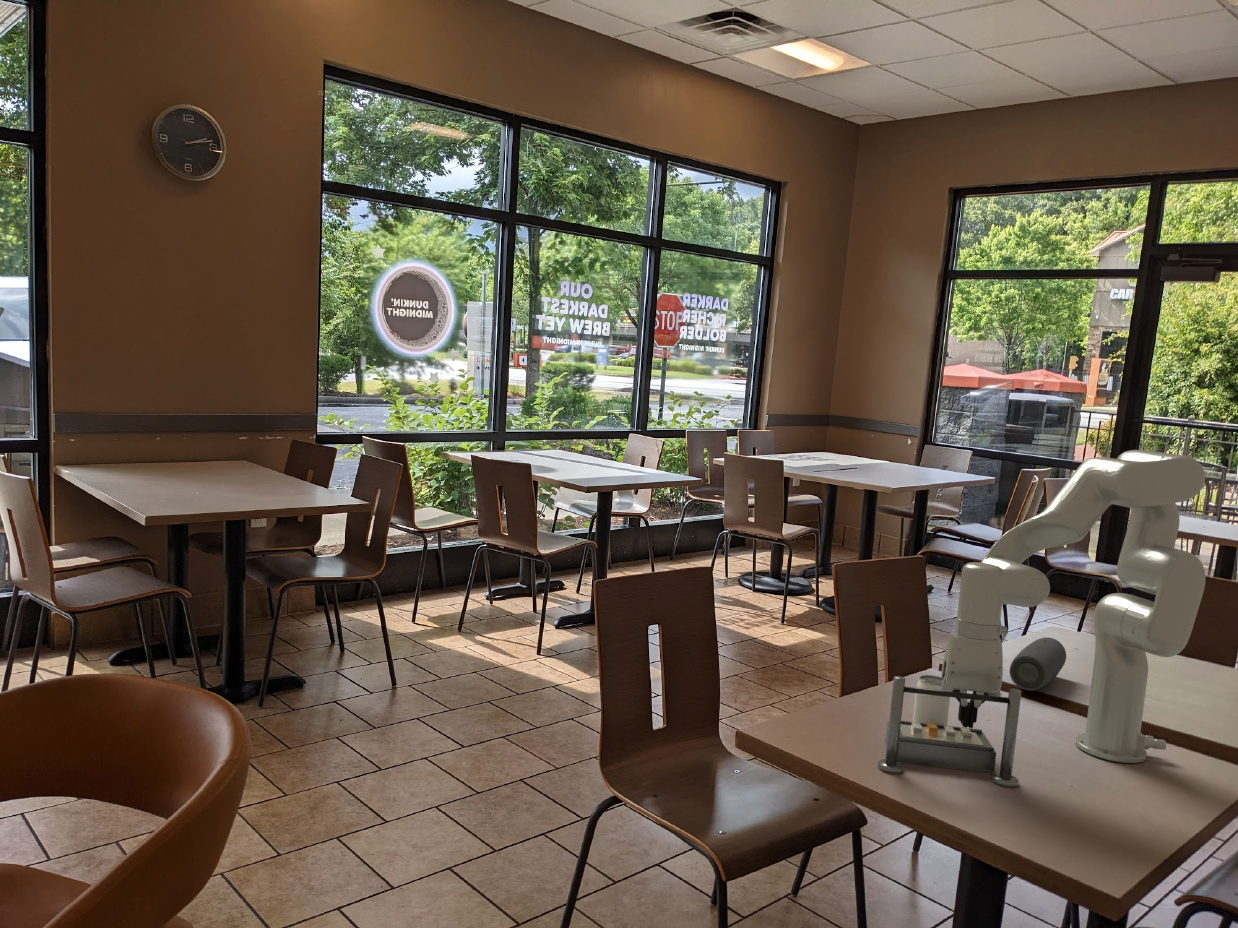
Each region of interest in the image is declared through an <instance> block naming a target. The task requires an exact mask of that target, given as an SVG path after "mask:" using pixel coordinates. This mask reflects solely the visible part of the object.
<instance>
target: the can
mask: <svg viewBox="0 0 1238 928" xmlns="http://www.w3.org/2000/svg"><path fill="white" fill-rule="evenodd" d="M942 681H943V679H942V676H938V675H937V676H936V675H931V674H930V675H928V674H926V675H920V676H919V680H918V682H917V683H916V687H915V688H923V689H933V690H941V689H940V686H941V684H942ZM950 701H951V697H944V696H935V695H926V694H917V693H915V697H914V706H913V717H912V722H918V723H926V722H930V723H935V724H936V725H944V726H948V722H949V721H948V720H949V713H950V712H949V710H950V703H951V702H950Z"/></svg>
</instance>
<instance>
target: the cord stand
mask: <svg viewBox="0 0 1238 928" xmlns="http://www.w3.org/2000/svg"><path fill="white" fill-rule="evenodd" d="M892 681H893V682H892V691H891V692H892V693H891V699H890V700H891V702H890V710H889V721H888V722H889V730H888V740H887V745H886V752H885V759H880V760H878V762H877V768H878V769H879V770H880V771H882V772H884V773H886V774H887V773H888V774H893V775H899V774H902V773H904V764H902V763H900V762H897V755H898V746H899V736H900V726H901V721H902V716H903V713H902V712H903V706H904V705H903V704H904V695H905V693H910V694H916V693H917V694H926V695H935V696H944V697H950V698H953V699H956V698H963V699H967V700H971V699H972V700H981V701H985V702H990V703H998V704H999V703H1003V704H1007V706H1006V715H1005V723H1004V733H1003V741H1002V747H1001V748H1002V750H1001V759H1000V768H999V772H994V774H993V773H991V781H992V783H994V784H995V785H997V786H1000V787H1003V788H1008V789H1009V788H1011V789H1014V788H1017V787H1019V779H1018V778H1017V777H1016V776H1014V775H1013V766H1014V759H1015V758H1014V757H1015V749H1016V741H1017V732H1018V722H1019V716H1020V715H1019V714H1020V709H1021V708H1020V706H1021V697H1022V690H1020V689H1017V688H1014V687H1013V688H1008V696H1007V697H1005V696H1001V697H997V696H988V695H979V694H972V693H969V692H967V693H960V692H951V691H942V690H933V689H923V688H916V687H912V686H905V684H906V678H905V677H903V676H902V675H901V676H900V675H895V676H893V680H892Z"/></svg>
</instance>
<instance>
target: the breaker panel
mask: <svg viewBox="0 0 1238 928" xmlns="http://www.w3.org/2000/svg"><path fill="white" fill-rule="evenodd" d="M885 729H886V731H885V740H884V741H886V742H885V744H886V746H887V740H888V730H889V721H886V728H885ZM996 758H997V751H996V750H995V748H994V747H993V745H992V743H990V741H989V739H988V738H987V736H986V735H985V733H984V732H983V730H982V729H979V728H969V727H967V728H965V727H963V726H962V727H961V726H951V725H947V726H944V725H936V724H935V723H930V722H926V723H918V722H913V721H907V720H901V726H900V736H899V746H898V755H897V762H899V763H900V762H902V763H903V764H910V765H920V766H927V767H935V768H942V767H943V769H952V770H959V771H970V772H976V773H978V772H979V773H987V774H994V773H995V768H996V767H995V766H996ZM902 763H901V764H902Z"/></svg>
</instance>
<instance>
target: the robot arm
mask: <svg viewBox="0 0 1238 928" xmlns="http://www.w3.org/2000/svg"><path fill="white" fill-rule="evenodd" d="M1205 482H1206V472H1205V469H1204V466H1203V465H1202V464H1201V463H1200V462H1199V461H1198V460H1197V459H1195V458H1193V457H1191V456H1189V455H1183V454H1177V453H1176V454H1175V453H1170V452H1169V453H1168V452H1161V451H1154V450H1147V449H1146V450H1145V449H1131V450H1126V451H1123V452H1122V453H1121V454H1119V455H1118V456H1117V458H1112V457H1102V456H1097V457H1094V456H1093V457H1090V458H1088V459H1086V460H1085V461H1083V462H1082V463H1081V464H1080V465H1079V466H1078V467H1077V469H1075V471H1074V472H1073V473H1072V474H1071V476H1070V477H1069V478H1068V480H1067V481H1065V483H1064V485H1063V486H1062V487H1061V488H1060V490H1059V491H1058V492H1057V493H1056V495H1055V496H1053V498H1052V499H1051V501H1050V502H1049V503H1048V504H1047V506H1046V507H1045V508H1044V509H1043V510H1042V511H1041V512H1040V513H1038V514H1036V515H1034V516H1032V517H1030V518H1028V519H1027V520H1025V521H1023V522H1021V523H1019V524H1017V525H1016V526H1014V527H1013V528H1011V529H1009V530H1008V531H1006V532H1005V533H1004V534H1003V535H1001V536H1000V537H999V538H998V539H997V540H996V541H995V542H994V544H993V545H992V546H991V548H989V550H988V551H987V552H986V553H985V555H984V556H983V558H982V559H981V561H980V562H977V561H974V562H968V563H966V564H964V565H963V566H962V570H961V576H960V577H961V578H960V586H959V594H958V603H957V614H956V615H957V616H956V622H955V631H951V632H950V633H949V636H948V640H947V643H946V647H945V651H944V654H943V661H942V665H941V666H942V667H941V673H940V674H941V676H940V677H942V679H943V681H942V684H941V686H940V689H941V690H942V691H951V692H960V693H968V692H972V693H971V694H979V695H988V696H997V697H1002V693H1001V688H1002V687H1003V686H1002V685H1003V676H1004V675H1003V671H1004V667H1003V666H1004V657H1003V644H1002V643H1003V642H1002V639H1001V638H1000V636H1001V635H1003V634H1008V627H1007V626H1006V625H1005V626H1003V625H1002V624H1001V618H1002V607H1003V605H1008V606H1015V607H1022V608H1033V607H1037V606H1039V605H1040V604H1043V602H1045V601H1046V599H1047V598H1048V596H1049V595H1050V591H1051V584H1050V581H1049V579H1048V577H1047V576H1046V574H1044V573H1043V572H1042V571H1040V570H1039V569H1037V568H1035V567H1033V566H1029V565H1026V564H1023V563H1024V561H1026V560H1027V559H1028V558H1030V557H1031V556H1033V555H1034V554H1036V553H1037V554H1038V553H1039V552H1041V551H1045V550H1047V549H1050V548H1051V549H1052V548H1057V547H1061V546H1067V545H1071V544H1074V543H1075V544H1076V543H1078V542H1080V541H1082V540H1083V539H1084V538H1085V537H1086V536H1087V534H1088V533H1089V532H1090V531H1091V530H1092V528H1093V527H1094V525H1095V524H1096V523H1097V522H1098V520H1100V518H1101V516H1103V514H1104V513H1105V512H1106V510H1108V508H1109V507H1110V506H1111V505H1116V506H1120V507H1125V508H1130V514H1129V515H1130V516H1129V522H1128V525H1127V529H1126V532H1125V537H1124V540H1123V544H1122V546H1121V550H1120V553H1119V557H1118V561H1117V567H1116V575H1117V577H1118V579H1119V581H1120V582H1121V583H1123V585H1126V586H1128V587H1130V588H1133V589H1134V590H1135V589H1136V590H1139V591H1141V592H1145V593H1147V594H1151V595H1155V599H1154V601H1152V600H1149V599H1146V598H1143V597H1139V596H1136V595H1134V594H1128V593H1123V592H1115V593H1110V594H1109V593H1108V594H1107V595H1105V596H1104V597H1102V598H1101V599H1100V600H1099V601H1098V603H1097V604H1096V606H1095V609H1094V612H1093V627H1094V636H1095V637H1094V639H1095V640H1094V641H1095V648H1094V649H1095V650H1094V661H1093V668H1092V676H1091V677H1092V678H1091V685H1090V693H1089V701H1088V709H1087V717H1086V726H1085V727H1086V728H1085V732H1084V733H1081V734H1078V735H1077V736H1076V737H1075V745H1076V746H1077V747H1078V748H1079V749H1080V750H1081V751H1083V752H1084V753H1087V754H1089V755H1092V756H1094V757H1097V758H1100V759H1104V760H1107V761H1110V762H1111V761H1112V762H1117V763H1126V764H1138V763H1142V762H1144V761H1146V760H1147V756H1148V753H1147V751H1146V750H1149V749H1154V750H1160V751H1161V750H1162V751H1165V750H1167V749H1166V748H1167V742H1166V740H1165V739H1157V738H1154V736H1153V735H1144V734H1143V733H1142V732H1141V730H1142V724H1143V723H1142V722H1143V716H1144V715H1143V714H1144V707H1145V701H1146V699H1145V698H1146V693H1147V683H1148V677H1149V661H1148V658H1147V653H1148V654H1150V655H1153V656H1157V657H1159V658H1171V657H1175V656H1176V655H1178V654H1180V653H1181V652H1182V651H1183V650H1184V649H1185V648H1186V646H1187V644H1188V642H1189V639H1190V637H1191V635H1192V632H1193V628H1194V624H1195V621H1196V618H1197V615H1198V612H1199V609H1200V605H1201V601H1202V599H1203V594H1204V592H1205V591H1204V590H1205V586H1206V570H1205V567H1204V565H1203V563H1202V561H1201V560H1200V558H1198V556H1196V555H1195V554H1194V553H1191V552H1189V551H1187V550H1183V549H1179V548H1176V542H1177V537H1178V532H1179V528H1180V519H1181V518H1180V512H1179V509H1178V506H1177V503H1182V502H1187V501H1189V500H1192V499H1193V498H1194V497H1196V496H1197V495H1198V494H1199V493H1200V492H1201V490H1203V487H1204V485H1205ZM955 699H956V701H958V703H959V705H958V714H957V715H958V716H957V718H958V719H957V720H958V721H959V722H960V723H961V725H962V728H971V729H974V724H975V723H977V720H978V719H977V718H978V709H979V708H981V706H982V705H983V704H984V703H985V702H986V701H981V700H972V699H969V700H968V699H963V698H955Z"/></svg>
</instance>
